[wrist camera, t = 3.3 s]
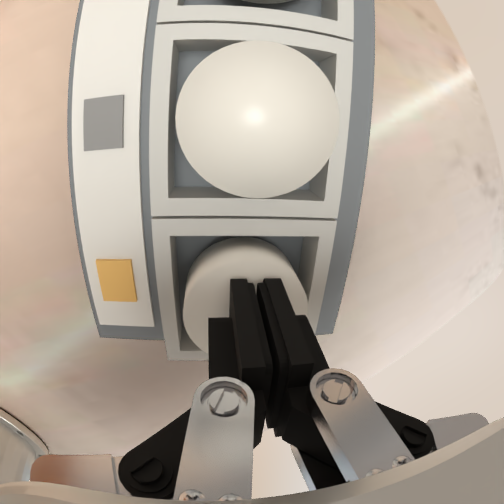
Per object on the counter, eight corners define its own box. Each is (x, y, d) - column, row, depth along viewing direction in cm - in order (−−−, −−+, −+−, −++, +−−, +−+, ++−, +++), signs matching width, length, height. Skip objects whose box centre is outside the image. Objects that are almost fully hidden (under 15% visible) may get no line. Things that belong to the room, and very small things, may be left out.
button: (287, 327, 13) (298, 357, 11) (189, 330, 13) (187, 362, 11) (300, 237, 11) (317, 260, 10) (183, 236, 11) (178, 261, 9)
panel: (318, 306, 17) (343, 355, 13) (111, 309, 15) (91, 359, 12) (348, -37, 9) (386, -69, 5) (114, -48, 7) (89, -86, 3)
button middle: (310, 186, 10) (330, 201, 8) (182, 182, 10) (174, 197, 8) (319, 64, 8) (343, 53, 7) (186, 53, 8) (180, 37, 6)
